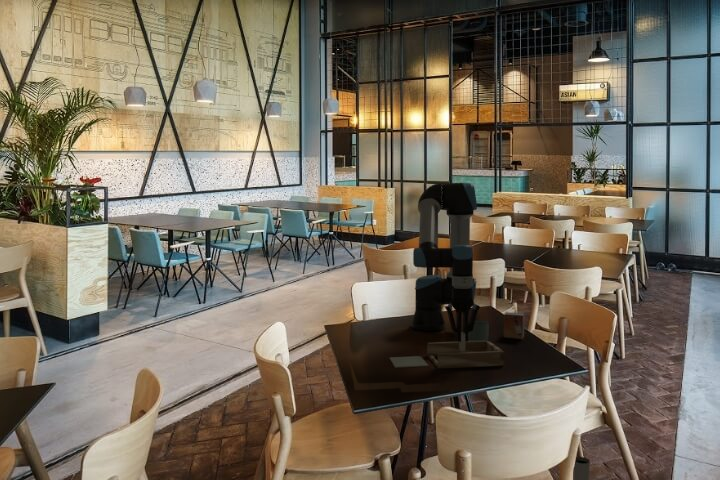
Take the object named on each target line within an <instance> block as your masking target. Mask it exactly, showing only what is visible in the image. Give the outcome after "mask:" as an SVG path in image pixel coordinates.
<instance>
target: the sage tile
mask: <svg viewBox="0 0 720 480" xmlns="http://www.w3.org/2000/svg"><path fill="white" fill-rule="evenodd" d="M389 360H390V362H391V364H392V365H393V366H394V368H395V369H396V368H400V369H401V368H415V367H416V368H417V367H428V366H429V364H428V363H427V361H425V360H424V358H423V357H422V356H421V355H413V356H395V357H394V356H393V357H392V356H391V357H389Z"/></svg>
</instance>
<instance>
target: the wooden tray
mask: <svg viewBox="0 0 720 480" xmlns="http://www.w3.org/2000/svg"><path fill="white" fill-rule="evenodd" d="M426 345H427V348H426V349H427V350H426V351H427V352H426V354H427V355H426V356H427V357H428V358H429V359H430V360H431V361H432V363H433V364H434V366H436V367H437V369H457V368H458V369H459V368H460V369H461V368H475V367H476V368H477V367H481V368H482V367H496V366H497V367H498V366H499V367H500V366H502V367H503V366H505V351H504V350H502V349H501V348H500V347H498V346H497V345H496V344H494V343H492V342H491V341H490V340H489V339H488V340H482V341H469V340H468V341H467V342H465V351H461V350H459V342H458V341H439V342H438V341H437V342H427V344H426ZM436 357H437V359H436Z"/></svg>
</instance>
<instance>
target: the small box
mask: <svg viewBox="0 0 720 480" xmlns="http://www.w3.org/2000/svg"><path fill="white" fill-rule="evenodd" d="M503 317H504V318H503V338H506V339H507V338H508V339H515V340H516V339H519V340H523V339H524V337H525V317H526V316H525V312H523V313H522V312H509V311H505V313H504V314H503Z"/></svg>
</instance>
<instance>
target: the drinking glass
mask: <svg viewBox="0 0 720 480" xmlns="http://www.w3.org/2000/svg"><path fill="white" fill-rule="evenodd" d="M575 457H576V462H575V467H574V468H573V480H589V479H590V467H591V466H590V464H591V463H590V461H591V460H590V459H588V458H587V457H583V456H575Z"/></svg>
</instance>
